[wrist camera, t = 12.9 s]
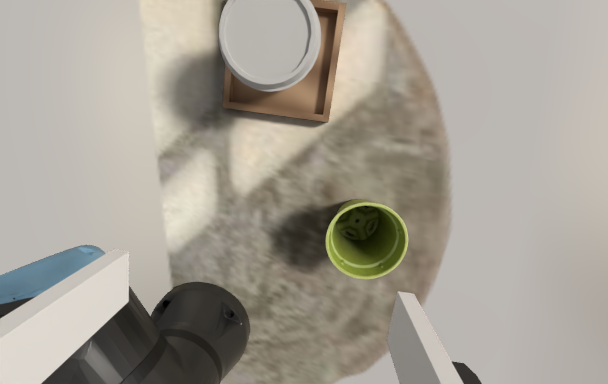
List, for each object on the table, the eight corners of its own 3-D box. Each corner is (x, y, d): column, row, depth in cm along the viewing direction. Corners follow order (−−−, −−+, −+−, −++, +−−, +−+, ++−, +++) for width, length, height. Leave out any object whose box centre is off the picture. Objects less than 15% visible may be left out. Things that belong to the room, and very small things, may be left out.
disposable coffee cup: (240, 91, 40) (207, 79, 28) (251, 12, 37) (221, -39, 26) (312, 106, 40) (309, 99, 28) (327, 27, 37) (331, -17, 26)
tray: (327, 122, 41) (328, 122, 39) (227, 108, 41) (222, 107, 39) (344, 10, 38) (346, 3, 36) (236, -5, 38) (231, -12, 36)
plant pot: (340, 176, 42) (345, 189, 34) (402, 202, 43) (422, 221, 34) (314, 235, 44) (313, 261, 36) (373, 259, 45) (386, 290, 36)
